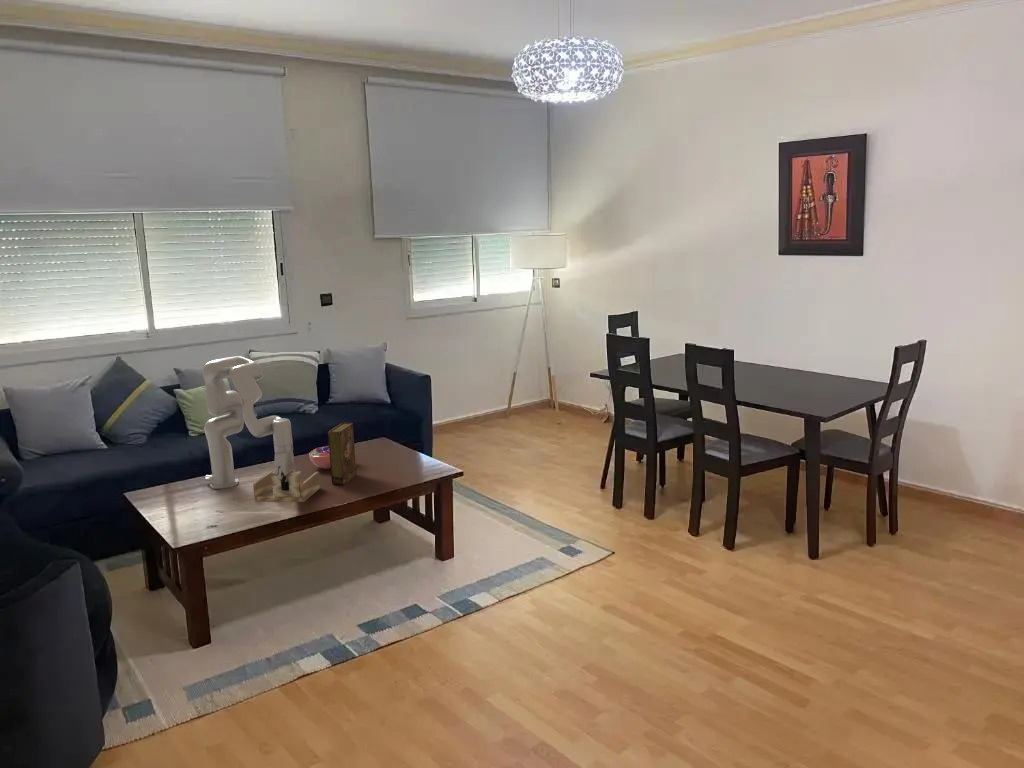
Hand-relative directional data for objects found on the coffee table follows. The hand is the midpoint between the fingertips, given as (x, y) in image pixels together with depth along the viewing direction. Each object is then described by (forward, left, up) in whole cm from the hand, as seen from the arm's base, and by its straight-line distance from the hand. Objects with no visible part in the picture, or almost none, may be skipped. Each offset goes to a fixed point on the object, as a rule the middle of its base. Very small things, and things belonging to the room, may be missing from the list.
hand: (287, 488), depth 331 cm
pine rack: (-3, +5, -5) cm, 8 cm away
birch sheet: (0, 0, -4) cm, 4 cm away
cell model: (+2, +45, -5) cm, 45 cm away
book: (+16, +27, -5) cm, 32 cm away
